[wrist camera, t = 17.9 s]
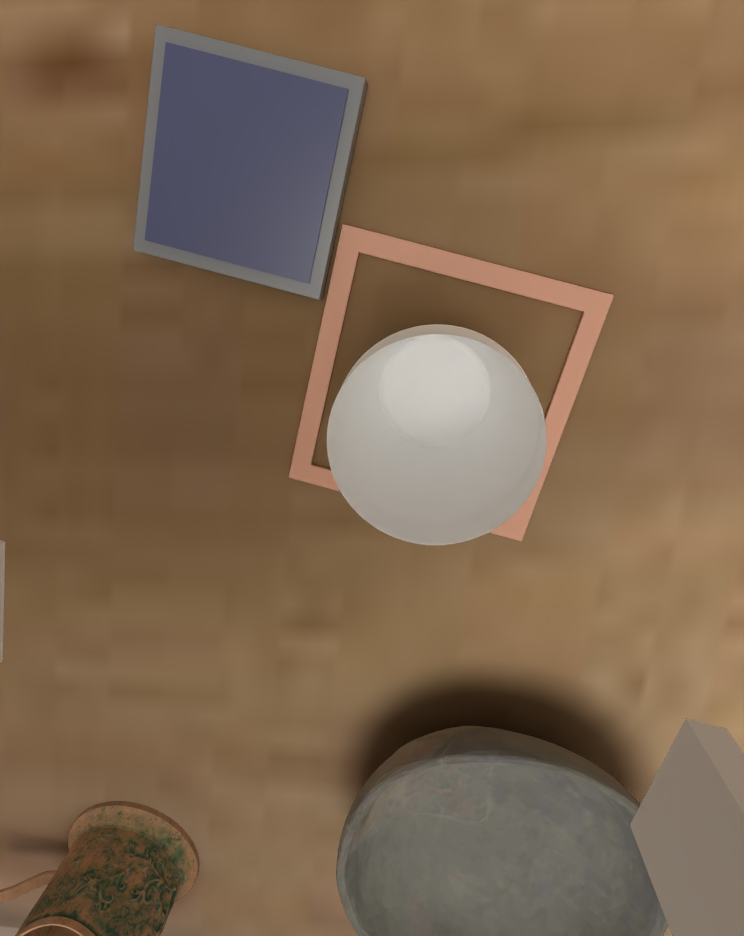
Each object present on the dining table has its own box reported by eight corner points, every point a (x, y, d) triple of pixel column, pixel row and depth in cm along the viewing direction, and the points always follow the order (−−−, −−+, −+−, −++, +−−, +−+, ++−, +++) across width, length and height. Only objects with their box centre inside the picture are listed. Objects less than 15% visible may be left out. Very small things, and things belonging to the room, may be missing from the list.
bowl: (298, 795, 44) (270, 900, 37) (461, 618, 38) (468, 700, 30) (508, 927, 46) (523, 1052, 39) (697, 780, 40) (759, 895, 32)
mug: (-3, 782, 47) (-141, 938, 36) (196, 811, 46) (119, 982, 35) (15, 879, 51) (-104, 1049, 40) (201, 909, 50) (132, 1093, 38)
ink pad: (141, 251, 33) (131, 250, 32) (164, 32, 29) (154, 22, 28) (322, 299, 32) (318, 299, 31) (367, 84, 29) (364, 76, 28)
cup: (380, 296, 32) (351, 301, 21) (532, 337, 32) (586, 364, 21) (344, 442, 35) (301, 516, 24) (483, 480, 35) (508, 573, 23)
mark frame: (289, 475, 36) (288, 477, 36) (343, 224, 31) (342, 223, 31) (520, 539, 36) (521, 541, 35) (612, 295, 31) (614, 295, 30)
